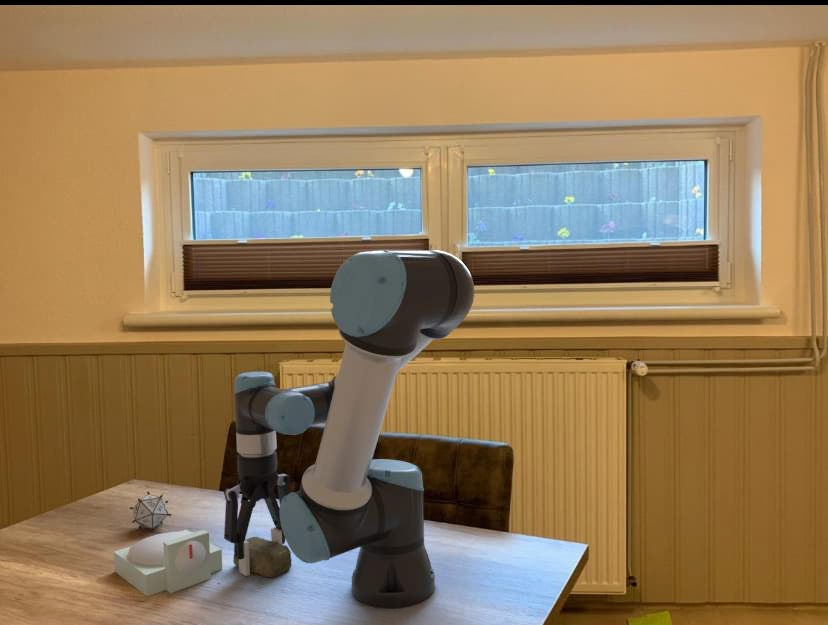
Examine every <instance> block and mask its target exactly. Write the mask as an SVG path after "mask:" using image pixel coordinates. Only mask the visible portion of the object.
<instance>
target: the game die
mask: <svg viewBox="0 0 828 625" xmlns="http://www.w3.org/2000/svg"><path fill="white" fill-rule="evenodd" d="M146 493H147V494H146V495H145V496H144V497H143V498H137V501H138V502H137V503H136V504H135V505H134V506H130V507H129V509H130V510H132V511H133V518H134V520H133V519H132V521H131V523H132V524H134V523H136V524H138V525H139V526H138V529H141V528H142V527H144V528H146V529H151V533H154V532H155V528H156V527H157V526H158V525H163V524H164V522H163V521H164V520H165V518H167V517H171V516H173V514H171V513H169V511H168V507H167V504H168V503H169V500H166V501H165V500H164V499H163V497H164V496H163V494H160V495H159V496H157V495H153V494H150V491H149V490H148V491H147V492H146Z"/></svg>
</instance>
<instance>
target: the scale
mask: <svg viewBox="0 0 828 625" xmlns="http://www.w3.org/2000/svg"><path fill="white" fill-rule="evenodd" d="M222 554H223V552H222V549H221V548H220V547H218V546H216V545H214V544H213V543H211V542H210V532H209V531H207V530H206V529H202V530H201V529H200V530H199V531H198V530H197V531H195V532H192V531H190V530H188V529H184V530H180V531H171V532H170V531H169V532H164V533H159V534H158V533H157V534H155V535H151V536H148V537H145V538H142V539H141V540H139V541H137V542H135V543H134V544H133V545H130V546H128V547H124V548H121V549H118V550H115V551H113V562H114V563H113V564H114V572H115V573H116V574H118V575H119V576H120V577H121V578H123V579H124V580H125V581H126V582H128V583H129V584H130V585H131V586H133V587H134V588H135V589H137V591H139V592H140V593H142V594H143V595H144V596H145V597H151V596H153V595H155V594H156V595H157V594H158V593H161V592H164V591H167V592H168V593H169V594H173V593H176V592H178V591H181V590H184V589H186V588H188V587H191V586H195V585H197V584H200V583H202V582H203V583H204V582H205V581H207V580H208V581H209V580H210V579H212V574H213V573H216V572H218V571H221V570H223V555H222Z"/></svg>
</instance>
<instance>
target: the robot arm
mask: <svg viewBox="0 0 828 625" xmlns="http://www.w3.org/2000/svg"><path fill="white" fill-rule="evenodd" d="M329 296H330V297H329V302H330V304H332V308H330V313H331V316H332V319H333V321H334V323H335V325H336V326H337V327H338V333H339V337H340V338H341V339H342V341H344V343H345V346H344V350H343V354H342V358H341V361H340V365H339V369H338V373H337V374H336V375H335V376H334V377H333V378H332V379H331V380H329V381H327V382H321V383H314V384H308V385H302V386H297V387H289V388H279V387H276V383H275V379H274V378H275V377H274V376H273V373H271V372H270V371H269V372H268V371H249V372H243V373H239V374H238V375H236V377H235V378H234V393H233V397H234V398H233V399H234V414H235V415H234V417H235V431H236V432H235V435H236V436H235V437H236V452H237V453H238V455H237V456H236V466H237V475H238V480H237V482H236V485H235V486H233V487H231V488H225V489H224V491H223V494H224V498H225V499H224V500H225V513H224V514H225V515H224V532H223V538H224V540H225V541H227V542H229V543H231V544H233V549H235V557H236V558H237V559H239V567H238V573H240V574H242V575H243V576H246V577H248V576H251V572H250V564H249V542H248V541H246V539H247V538H246V537H247V533H248V530H249V525H250V521H251V517H252V514H253V510H254V508H255V507H256V504H257V502H259V501H261V500H264V501H265V504H266V508H267V509H268V512H269V515H270V517H271V519H272V522H273V524H274V526H273V527H271V528H270V537H271V538H270V539H271V540H270V541H272V542H275V543H279V544H281V545H284V544H285V543H287V545H288V548H289V550H290V551H291V552H292V553H293V554H294V555H295V557H296V558H298V559H299V560H300V561H302V562H303V563H306V564H315V563H319V562H322V561H325V562H327V561H328V560H329V559H332V558H335V557H337V556H340V555H343V554H345V553H348V552H350V551H353V550H355V549H358V548H359V552H358V555H357V559H356V563H355V564H356V565H355V569H353V572H352V575H351V592H352V595H353V596H354V597H355V598H356V599H357V600H358V601H360V602H361V603H363V604H364V605H365V604H366V605H368V606H372V607H378V608H386V609H387V608H388V609H390V608H391V609H394V608H402V607H409V606H412V605H416V604H418V603H421V602H423V601H425V600H427V599H428V598H430V596H432V594H433V593H434V591H435V589H436V584H435V583H436V582H435V581H436V578H435V577H436V576H435V572H434V568H433V567H432V565H431V561H430V558H429V555H428V551H427V548H426V546H425V527H424V526H425V524H424V522H425V519H424V518H425V516H424V515H425V514H424V512H425V511H424V507H425V506H424V491H425V488H424V485H423V484H424V483H423V474H422V470H421V469H420V467H418V466H416V465H415V464H414V463H410V462H406V461H403V460H397V459H389V458H388V459H384V458H379V459H378V458H377V459H375V458H374V454H375V450H376V447H377V443H378V439H379V436H380V433H381V430H382V428H383V427H382V426H383V422H384V419H385V416H386V412H387V410H388V405H389V402H390V399H391V395H392V391H393V390H394V384H395V381H396V378H397V375H398V372H400V371H401V370H402V369H403V368H404V367H405V366H406V365H407V364H409V362H410V361H412V360H413V359H414V358H415V357H416V356H417V355H418V354H419V353H420V352H422V350H424V349H425V348H426V347H427V346H428V345H429V344H430V343H431V342H433V341H434V340H436V341H437V340H442V339H445V338H447V336H448V335H450V334H451V333H452V332H453V331H454V330H455V329H456V328H457V327H459V325H460V324H461V323H463V321H464V320H465V319H466V318H467V316H468V314H469V313H470V311H471V309H472V306H473V304H474V300H475V299H474V298H475V285H474V281H473V277H472V275H471V272H470V271H469V269H468V268H467V266H466V265H465V264H464V263H463V261H462V260H460V259H459V258H458V257H456V256H454V255H453V254H451V253H449V252H446V251H443V250H435V249H434V250H432V249H430V250H389V249H376V250H375V249H374V250H371V251H363V252H357V253H356V254H353V255H352V256H350V257H349V258H347V259H346V260H344V262H343V263H342V264H341V265H340V266H339V268H338V270H336V273H335V276H334V277H333V280H332V283H331V287H330V295H329ZM320 424H325V425H324V429H323V433H322V436H321V439H320V440H321V441H320V444H319V447H318V448H319V449H318V452H317V456H316V461H315V463H314V464H312V465H311V466H309V467H308V468H306V470H305V471H304V473H303V475H302V477H301V482H300V484H299V489H298V490H297V491H296V492H294V491H292V492H291V491H290V490H291V489H290V485H291V476H290V475H288V474H285V473H282V472H281V473H280V474H278V472H277V470H278V453H277V452H276V450H277V448H278V447H277V433H278V434H282V435H291V436H297V435H300V434H303V433H304V432H305V431H307V429H309V428H310V427H311V426H316V425H320ZM373 458H374V459H373ZM276 485H277V492H278V493H277V494H278V497H277V495H276V492H275V489H274V488H275V486H276ZM240 493H241V494H242V495H241V498H240ZM239 498H240V509H239ZM277 498H278V500H279V503H278V500H277Z"/></svg>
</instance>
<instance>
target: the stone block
mask: <svg viewBox="0 0 828 625" xmlns="http://www.w3.org/2000/svg"><path fill="white" fill-rule="evenodd" d="M245 540H246V541H248V542H249V564H250V573H254V574H256V575H260V576H262V577H265V578H275V577H277V576H279V575H282V574H285V573H286V572H288V571H289V570H290V569H291V568H292V557H291V556H292V555H291V552H292V551H291V549H290V547H289V546H287V545H284V544H282V545H281V544H279V543H275V542H272V541H271V540H268V539H265V538H262V537H259V536H251V537H249V538H245ZM233 549H234V548H233ZM233 564H234V565H235V566H236V567H238V568H239V559H237V558H236V557H235V549H234V550H233Z"/></svg>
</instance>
